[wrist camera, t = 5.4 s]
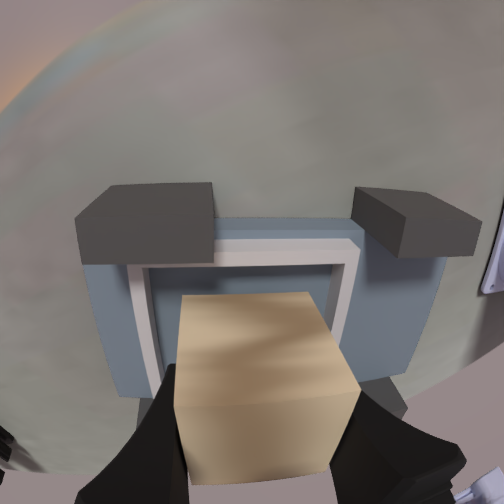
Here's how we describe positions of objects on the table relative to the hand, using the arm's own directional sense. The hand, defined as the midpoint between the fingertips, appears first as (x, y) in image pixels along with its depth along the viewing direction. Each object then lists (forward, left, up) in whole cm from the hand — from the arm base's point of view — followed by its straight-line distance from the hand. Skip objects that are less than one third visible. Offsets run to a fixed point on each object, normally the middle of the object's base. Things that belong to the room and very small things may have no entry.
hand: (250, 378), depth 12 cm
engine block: (0, 0, -2) cm, 2 cm away
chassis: (-2, 0, -5) cm, 5 cm away
